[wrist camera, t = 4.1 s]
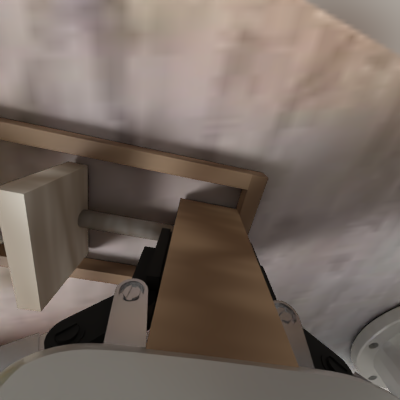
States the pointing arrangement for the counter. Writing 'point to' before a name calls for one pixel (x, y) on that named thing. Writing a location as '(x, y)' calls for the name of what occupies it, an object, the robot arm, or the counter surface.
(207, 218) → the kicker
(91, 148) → the rails
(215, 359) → the robot arm
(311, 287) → the counter surface
